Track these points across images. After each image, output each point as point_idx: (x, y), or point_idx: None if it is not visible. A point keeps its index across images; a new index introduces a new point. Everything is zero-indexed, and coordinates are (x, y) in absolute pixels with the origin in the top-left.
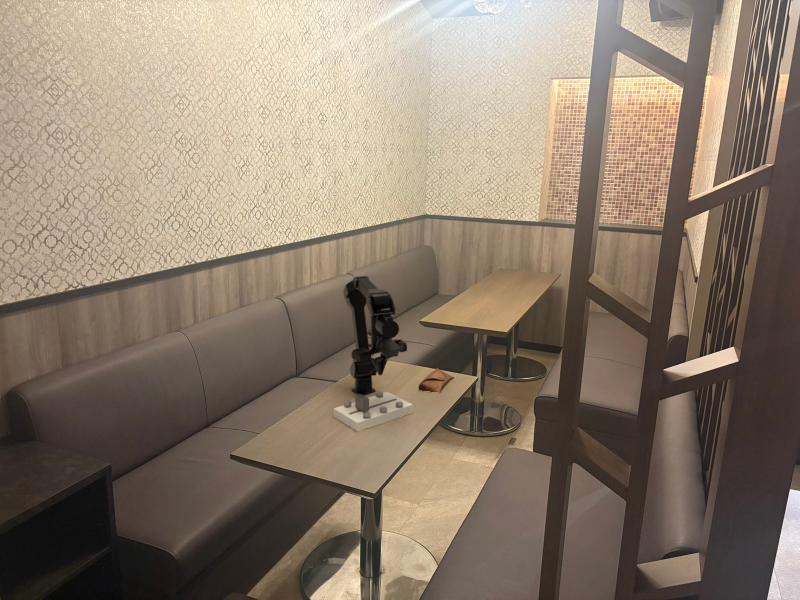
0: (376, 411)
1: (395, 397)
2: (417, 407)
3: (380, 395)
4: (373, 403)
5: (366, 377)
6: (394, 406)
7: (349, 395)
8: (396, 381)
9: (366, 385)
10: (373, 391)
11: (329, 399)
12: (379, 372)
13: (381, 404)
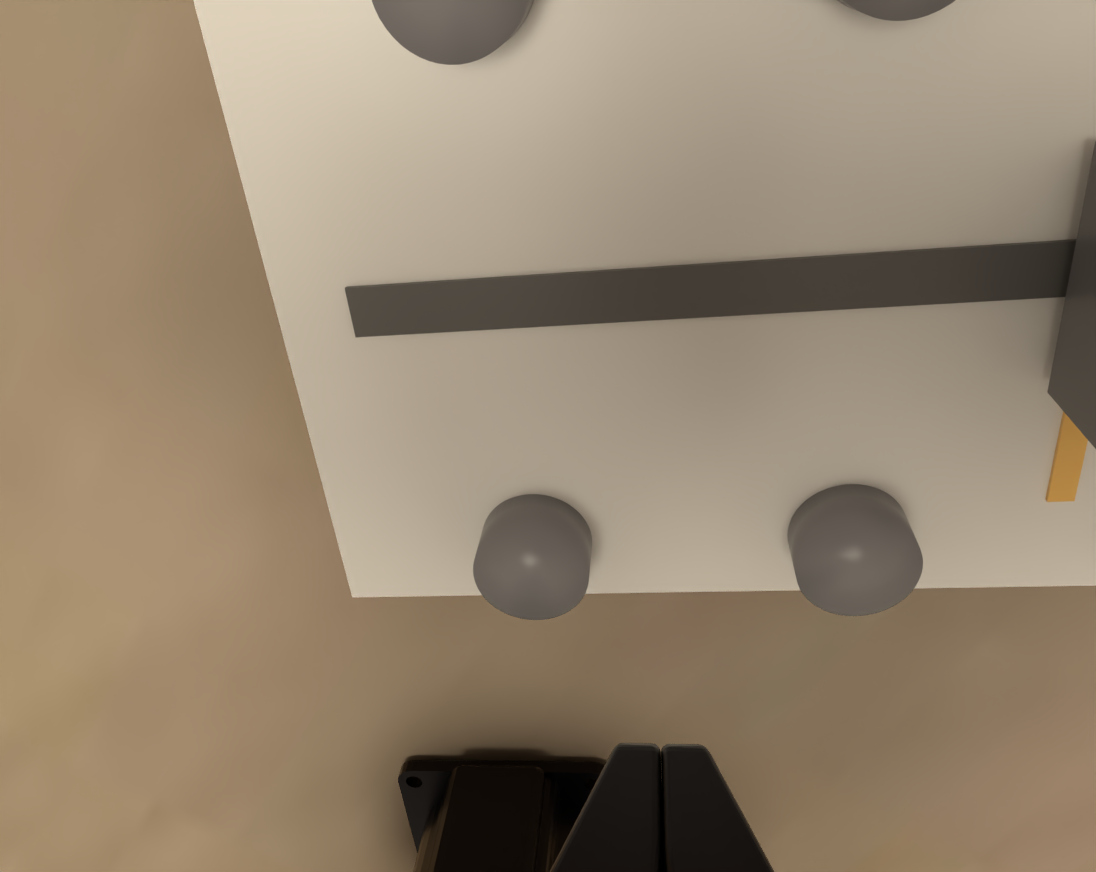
0: (987, 36)
1: (335, 375)
2: (88, 68)
3: (549, 518)
4: (782, 383)
5: None
6: (541, 43)
7: None
8: (86, 816)
9: (526, 854)
10: (434, 764)
11: (953, 861)
12: (759, 845)
13: (700, 265)
